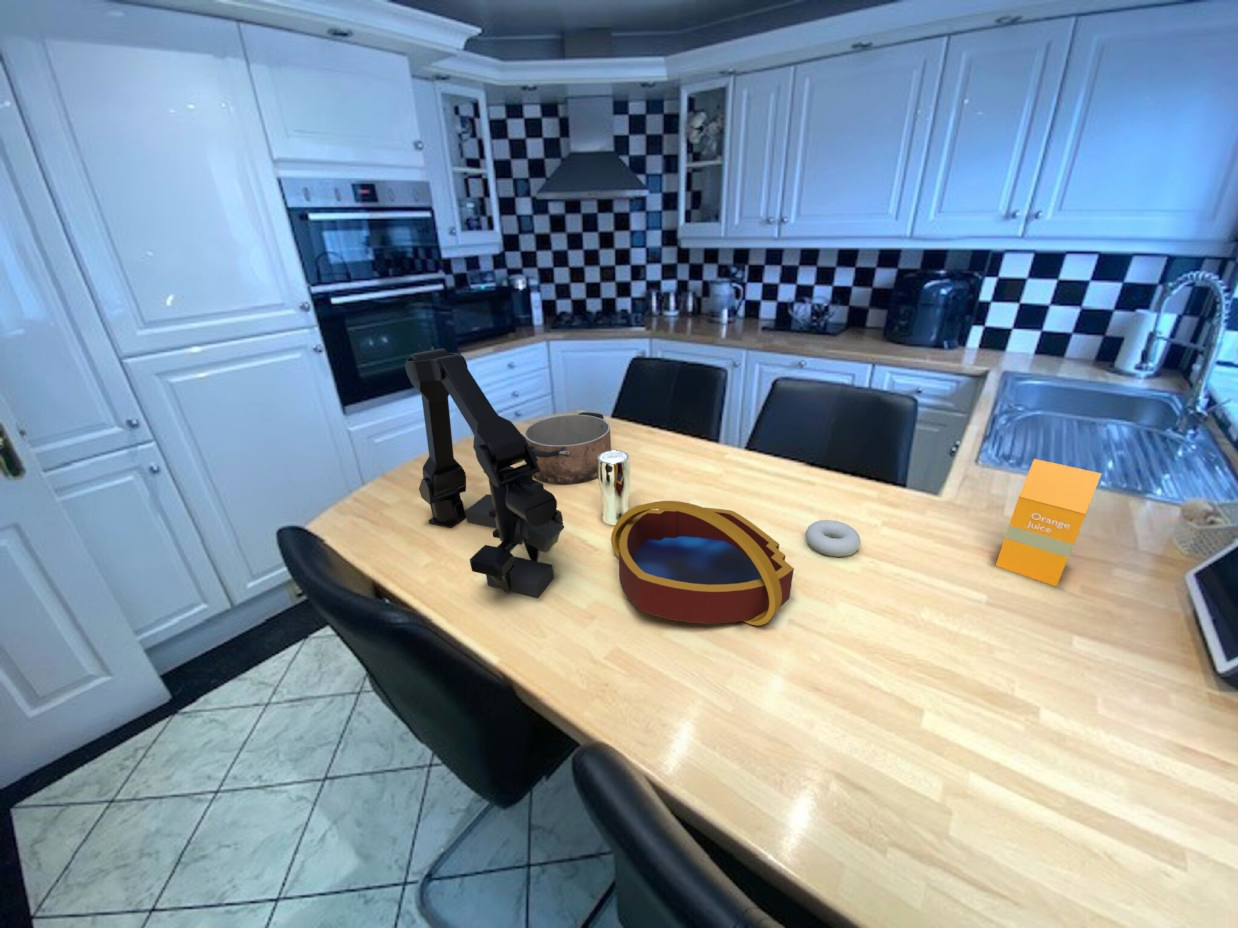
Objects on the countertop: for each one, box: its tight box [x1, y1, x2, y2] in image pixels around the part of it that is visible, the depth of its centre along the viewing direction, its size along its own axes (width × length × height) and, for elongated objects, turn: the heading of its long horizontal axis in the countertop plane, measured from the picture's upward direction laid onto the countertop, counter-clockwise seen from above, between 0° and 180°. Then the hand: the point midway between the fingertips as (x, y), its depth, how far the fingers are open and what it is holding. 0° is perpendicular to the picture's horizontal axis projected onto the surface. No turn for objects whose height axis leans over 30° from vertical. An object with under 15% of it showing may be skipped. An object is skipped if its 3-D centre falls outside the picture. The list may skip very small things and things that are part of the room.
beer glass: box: [597, 449, 632, 526], centre depth 108 cm, size 7×7×15 cm
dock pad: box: [464, 494, 497, 529], centre depth 113 cm, size 13×8×3 cm, turn 68°
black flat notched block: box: [485, 555, 555, 599], centre depth 92 cm, size 10×6×3 cm, turn 68°
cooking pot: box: [523, 411, 612, 485], centre depth 134 cm, size 30×22×11 cm
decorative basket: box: [610, 500, 795, 626], centre depth 88 cm, size 34×29×15 cm
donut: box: [805, 519, 861, 557], centre depth 98 cm, size 10×4×10 cm
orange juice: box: [995, 458, 1102, 587], centre depth 87 cm, size 8×9×20 cm
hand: (521, 576), depth 92 cm, fingers open, 9 cm apart
